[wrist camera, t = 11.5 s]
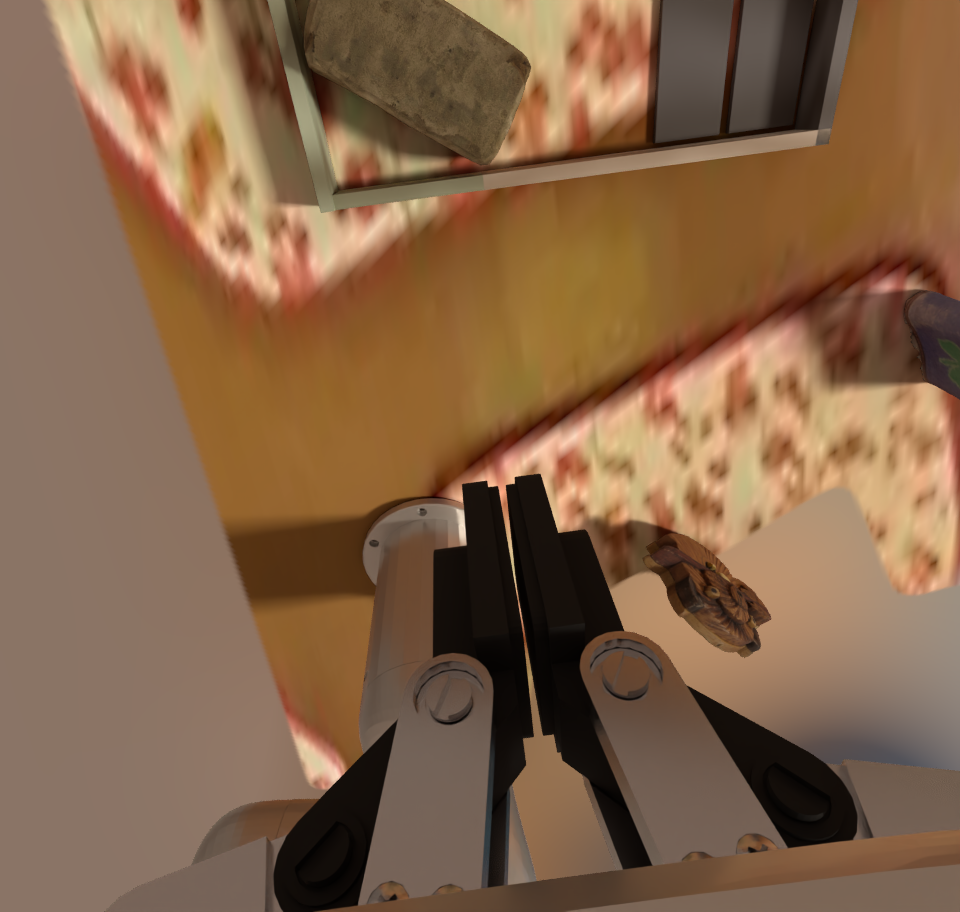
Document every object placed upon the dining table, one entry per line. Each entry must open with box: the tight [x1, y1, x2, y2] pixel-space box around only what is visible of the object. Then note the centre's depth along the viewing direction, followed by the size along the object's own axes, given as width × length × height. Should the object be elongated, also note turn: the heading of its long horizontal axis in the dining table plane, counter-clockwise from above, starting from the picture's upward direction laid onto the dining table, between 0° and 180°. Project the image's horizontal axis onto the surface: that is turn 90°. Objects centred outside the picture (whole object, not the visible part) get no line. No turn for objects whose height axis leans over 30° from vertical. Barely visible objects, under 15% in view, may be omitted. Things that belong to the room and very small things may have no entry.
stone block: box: [304, 0, 531, 165], centre depth 29 cm, size 6×12×5 cm, turn 64°
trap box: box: [267, 0, 858, 213], centre depth 29 cm, size 16×31×3 cm, turn 96°
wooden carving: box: [643, 533, 771, 658], centre depth 49 cm, size 16×5×10 cm, turn 55°
